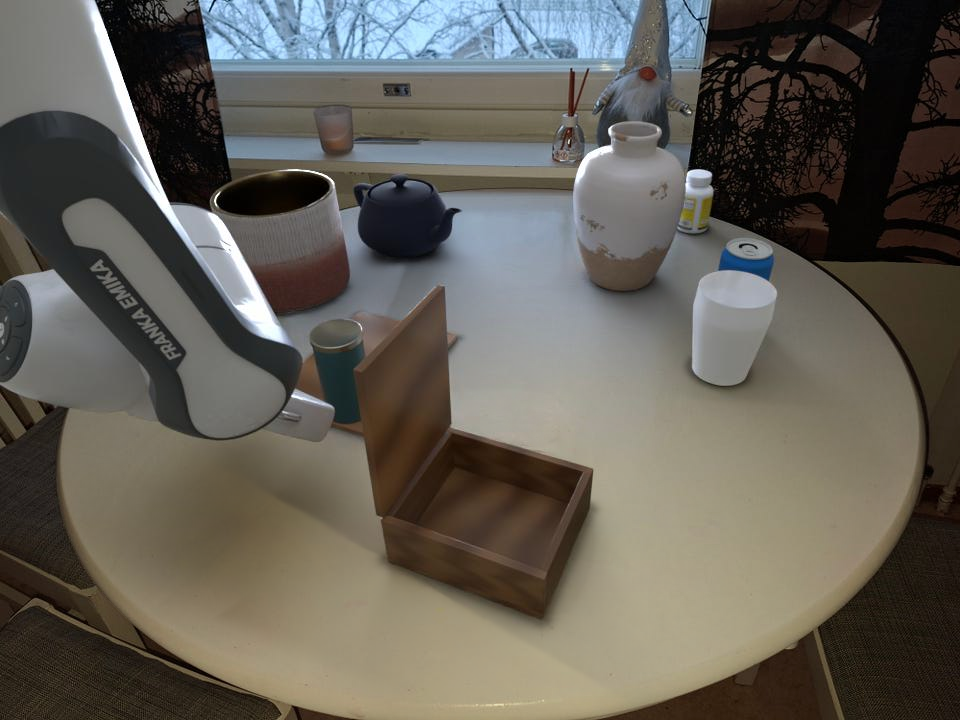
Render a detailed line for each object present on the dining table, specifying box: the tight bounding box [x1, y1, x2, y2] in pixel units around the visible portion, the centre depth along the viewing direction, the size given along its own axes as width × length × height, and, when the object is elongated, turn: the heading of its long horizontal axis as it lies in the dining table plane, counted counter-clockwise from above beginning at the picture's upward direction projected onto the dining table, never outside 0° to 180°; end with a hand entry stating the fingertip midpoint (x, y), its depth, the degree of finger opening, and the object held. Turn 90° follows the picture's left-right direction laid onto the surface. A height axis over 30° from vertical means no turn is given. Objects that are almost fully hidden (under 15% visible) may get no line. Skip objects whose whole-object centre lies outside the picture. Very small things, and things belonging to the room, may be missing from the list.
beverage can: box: [717, 237, 775, 282], centre depth 90 cm, size 6×6×12 cm
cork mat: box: [295, 311, 458, 437], centre depth 88 cm, size 22×16×1 cm
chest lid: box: [353, 284, 453, 519], centre depth 60 cm, size 16×14×1 cm
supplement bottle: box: [677, 169, 714, 234], centre depth 116 cm, size 5×5×10 cm
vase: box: [572, 120, 687, 292], centre depth 99 cm, size 16×16×23 cm
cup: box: [691, 270, 778, 387], centre depth 82 cm, size 9×9×12 cm
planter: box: [209, 169, 351, 314], centre depth 102 cm, size 18×18×16 cm
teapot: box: [353, 173, 463, 259], centre depth 113 cm, size 25×16×12 cm, turn 49°
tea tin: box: [308, 318, 366, 424], centre depth 78 cm, size 6×6×11 cm
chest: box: [380, 426, 594, 621], centre depth 65 cm, size 16×14×6 cm
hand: (290, 399), depth 72 cm, fingers open, 8 cm apart
